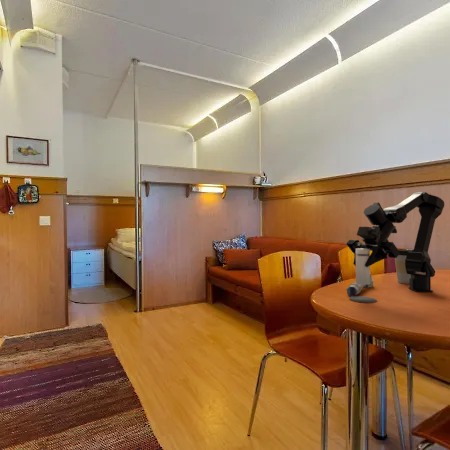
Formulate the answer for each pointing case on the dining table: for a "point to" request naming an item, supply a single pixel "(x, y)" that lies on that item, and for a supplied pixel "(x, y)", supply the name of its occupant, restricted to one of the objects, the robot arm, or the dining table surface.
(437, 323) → the dining table surface
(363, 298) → the pad
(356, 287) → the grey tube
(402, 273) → the coffee cup
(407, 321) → the dining table surface
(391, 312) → the dining table surface
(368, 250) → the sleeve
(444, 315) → the dining table surface
